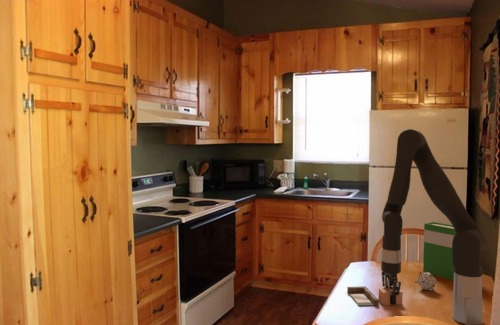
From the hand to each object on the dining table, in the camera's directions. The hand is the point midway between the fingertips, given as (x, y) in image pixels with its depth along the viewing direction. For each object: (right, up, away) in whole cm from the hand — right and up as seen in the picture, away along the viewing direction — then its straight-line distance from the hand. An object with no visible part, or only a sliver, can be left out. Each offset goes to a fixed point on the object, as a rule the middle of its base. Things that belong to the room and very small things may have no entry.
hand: (390, 301), depth 172 cm
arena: (-10, 0, +4) cm, 11 cm away
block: (0, 0, 0) cm, 0 cm away
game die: (+20, 0, +14) cm, 24 cm away
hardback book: (+37, +2, +33) cm, 49 cm away
